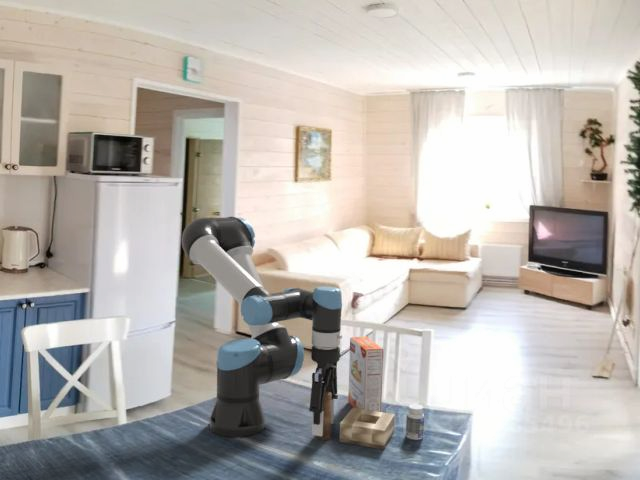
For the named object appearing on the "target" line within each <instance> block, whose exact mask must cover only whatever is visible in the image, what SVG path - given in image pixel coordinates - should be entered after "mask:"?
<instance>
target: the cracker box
mask: <svg viewBox="0 0 640 480" xmlns="http://www.w3.org/2000/svg"><path fill="white" fill-rule="evenodd" d="M348 361H349V364H348V367H349V368H348V395H347V396H348V397H347V398H348V403H349V404H350V405H351V407H352V408H359V409H365V410H371V411H378V412H382V397H383V374H384V373H383V369H384V349H383V348H382V347H381V346H380V345H378V344H377V343H376V342H374V341H373V340H372V339H370V338H369V337H368V336H352V337H350V338H349V360H348Z"/></svg>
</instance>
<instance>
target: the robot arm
mask: <svg viewBox="0 0 640 480" xmlns="http://www.w3.org/2000/svg"><path fill="white" fill-rule="evenodd" d="M255 234H256V233H255V231H254V228H253V226H252V225H251V223H250V222H249V221H248V220H247V219H245V218H243V217H237V216H227V217H200V218H199V217H198V218H195V219H194V220H193V221H191V222H189V223H188V224H187V225H186V227H185V228H184V229H183V231H182V236H181V245H182V249H183V251H184V253H185V255H186V256H187V258H188V259H190V261H192V263H193V264H196V265H200V266H202V267H203V269H204V270H206V272H207V273H208V274H209V275H211V276H212V278H214V279H215V281H217V283H218V284H220V286H221V287H222V288H223V289H224V290H225V291H226V292H228V293H229V294H230V295H231V296H232V297H233V299H235V300H236V302H237V303H238V305H239V306H240V313H241V316H242V318H243V319H242V320H243V321H244V322H245V324H247V327H248V329H249V331H250V334H251V338H242V339H241V338H238V339H237V338H236V339H232V340H229V341H227V342H225V343H223V344H222V345H221V346H220V347H219V348H218V351H217V360H216V401H215V403H214V406H213V409H212V412H211V415H210V418H209V428H210V430H211V432H213V433H215V434H216V435H219V436H223V437H227V438H229V437H230V438H244V437H248V436H249V437H250V436H253V435H255V434H258V433H261V431H263V430H264V429H265V427H266V416H265V413H264V410H263V407H262V404H261V401H260V386H261V385H265V384H269V383H272V382H277V381H280V380H286V379H288V378H290V377H293V376H295V375H297V374H298V373H299V372H300V371H301V370H302V367H303V365H304V360H305V349H304V347H303V346H304V345H303V344H302V342H301V340H300V339H299V337H296V336H295V335H290V334H289V332H288V329H287V327H286V326H284V325H282V324H280V323H279V322H281V321H288V320H293V319H300V318H301V319H305V320H307V321H308V320H309V321H311V322H312V324H311V326H312V327H311V345H312V346H311V357H310V358H311V360H312V361H313V362H314V363H316V364H317V365H316V368H315V372H312V374H311V389H310V390H311V392H310V401H309V402H310V403H309V408H308V411H309V412H312V419H311V421H312V422H311V423H312V426H311V436H315V435H316V436H323V412H324V411H322V408H323V402H324V396H325V391H329V392H331V393H332V402H331V425H332V424H334V422H335V421H334V420H335V417H334V416H335V400H338V398H339V396H338V373H337V368H338V362H339V361H340V359H341V358H340V357H341V356H340V355H341V348H340V345H341V339H342V338H343V335H342V334H341V330H342V329H341V328H342V327H341V324H342V311H343V310H342V308H343V299H342V291H341V289H340V288H338V287H334V286H325V285H324V286H322V285H321V286H317V287H315V288H314V289H313V291H311V290H306V289H304V288H303V289H302V288H300V287H288V288H286V289H284V290H283V291H282V292H281V291H280V292H273V293H271V292H269V291H268V290H267V289H266V288H265V287H264V285H263V282H262V280H261V278H260V276H259V273H258V270H257V268H256V266H255V263H254V261H253V259H252V255H253V253H254V247H255V243H256V239H255V237H256V235H255Z"/></svg>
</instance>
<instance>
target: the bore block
mask: <svg viewBox="0 0 640 480" xmlns="http://www.w3.org/2000/svg"><path fill="white" fill-rule="evenodd" d="M395 417H396V414H395V413H390V412H389V413H387V412H382V411H381V412H378V411H371V410H365V409H359V408H354V407H352V408H351V410H349V411H348V413H347V414H346V416H344V418H343V419H342V421H340V422H339V439H338V440H339V442H340V443H345V444H352V445H357V446H362V447H368V448H371V449H372V448H373V449H379V450H385V449H386V446H387V445H388V443H389V441H390V440H391V438H392V436H393V434H394V432H395V419H396V418H395Z"/></svg>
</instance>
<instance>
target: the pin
mask: <svg viewBox="0 0 640 480" xmlns="http://www.w3.org/2000/svg"><path fill="white" fill-rule="evenodd" d="M331 402H332V393H331V392H329V391H325V396H324V402H323V408H322V411H324V412H323V436H316V435H314V437H315V438H316V440H321V441H327V440H329V439H331V428H332V427H331V425H332V423H331Z"/></svg>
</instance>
